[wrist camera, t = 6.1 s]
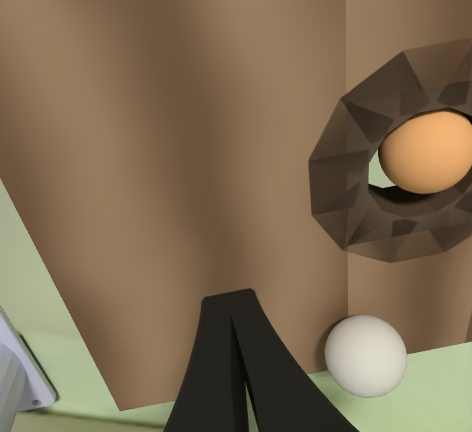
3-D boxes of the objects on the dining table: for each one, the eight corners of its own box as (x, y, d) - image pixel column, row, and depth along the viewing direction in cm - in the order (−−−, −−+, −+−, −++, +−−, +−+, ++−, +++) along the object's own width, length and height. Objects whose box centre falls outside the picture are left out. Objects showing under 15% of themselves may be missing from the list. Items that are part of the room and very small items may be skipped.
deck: (124, 370, 25) (119, 411, 23) (-102, -120, 12) (-157, -129, 10) (473, 301, 25) (500, 335, 23) (590, -241, 13) (671, -274, 11)
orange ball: (458, 163, 19) (376, 185, 20) (448, 83, 18) (361, 109, 18) (498, 193, 16) (400, 218, 16) (491, 98, 15) (384, 129, 15)
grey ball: (315, 358, 22) (342, 423, 19) (312, 308, 20) (341, 372, 17) (383, 341, 22) (419, 403, 19) (386, 290, 20) (426, 351, 17)
